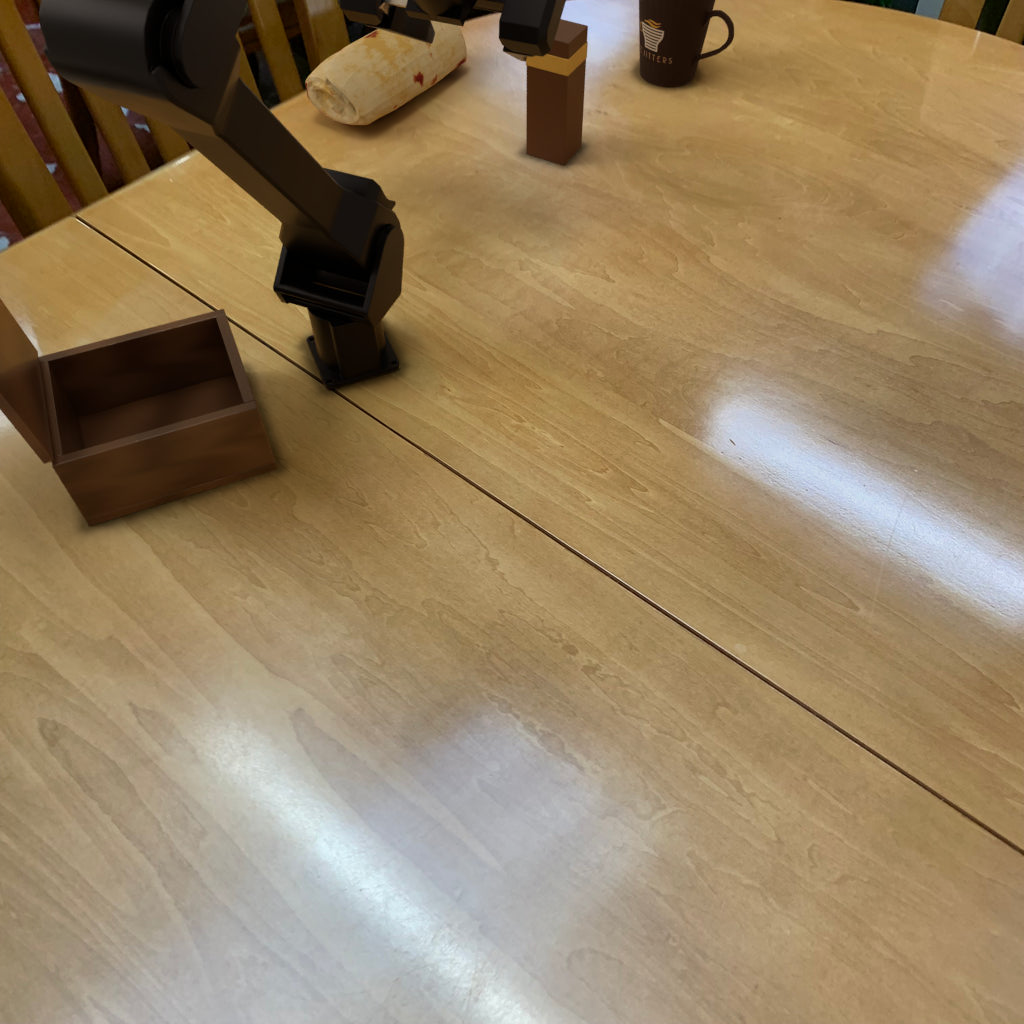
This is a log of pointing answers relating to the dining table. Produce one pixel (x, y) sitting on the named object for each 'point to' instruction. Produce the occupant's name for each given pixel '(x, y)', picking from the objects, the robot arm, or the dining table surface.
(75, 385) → the chest
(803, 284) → the dining table surface
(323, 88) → the food model
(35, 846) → the dining table surface
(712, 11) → the coffee mug
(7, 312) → the chest lid
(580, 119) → the chocolate box
